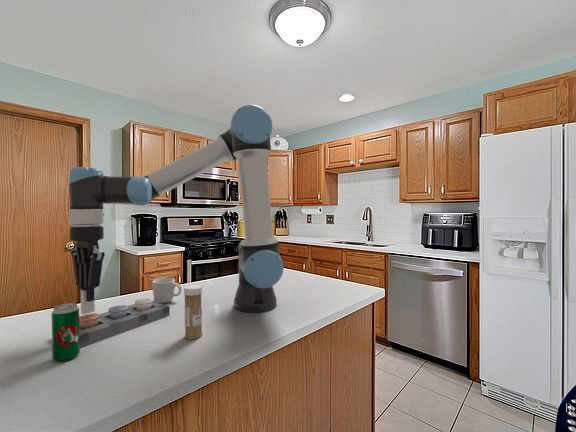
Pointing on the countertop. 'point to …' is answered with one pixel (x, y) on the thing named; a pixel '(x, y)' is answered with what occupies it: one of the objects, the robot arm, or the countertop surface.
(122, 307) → the slate button
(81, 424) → the countertop surface
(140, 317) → the button panel
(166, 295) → the cup
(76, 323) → the soda can
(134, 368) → the countertop surface
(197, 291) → the sprinkles bottle
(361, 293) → the countertop surface
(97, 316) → the terracotta button
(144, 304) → the cream button
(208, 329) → the countertop surface
